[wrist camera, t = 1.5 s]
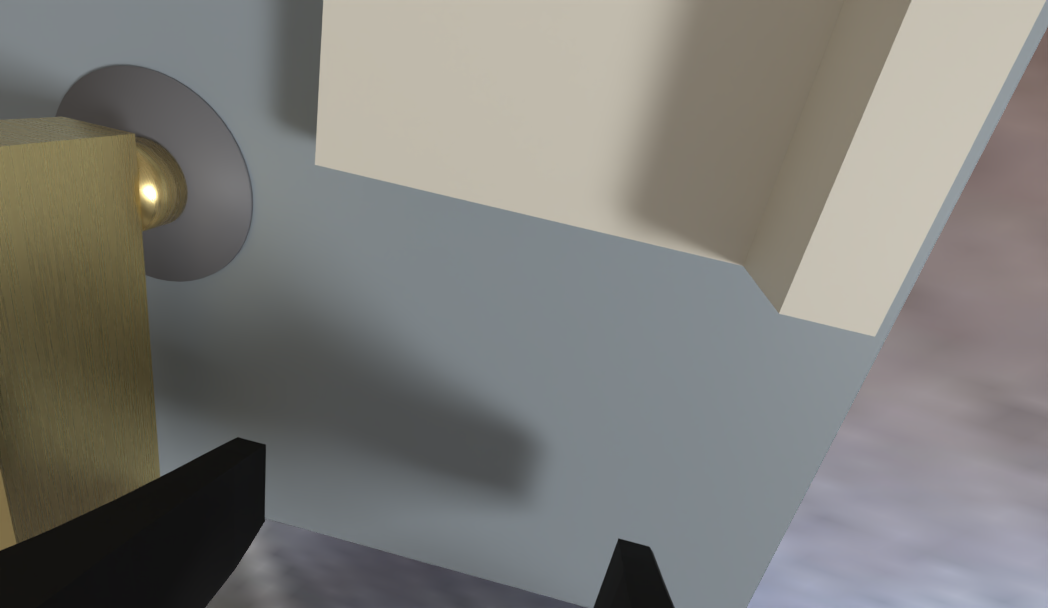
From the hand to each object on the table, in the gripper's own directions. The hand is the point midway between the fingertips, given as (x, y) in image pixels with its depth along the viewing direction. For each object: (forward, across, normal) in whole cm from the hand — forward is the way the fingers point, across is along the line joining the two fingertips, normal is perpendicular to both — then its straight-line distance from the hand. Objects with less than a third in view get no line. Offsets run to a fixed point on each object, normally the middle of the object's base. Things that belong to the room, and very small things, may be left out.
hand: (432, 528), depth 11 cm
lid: (+2, -1, -9) cm, 9 cm away
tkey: (+2, +7, -2) cm, 8 cm away
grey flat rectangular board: (+5, +2, -4) cm, 6 cm away
